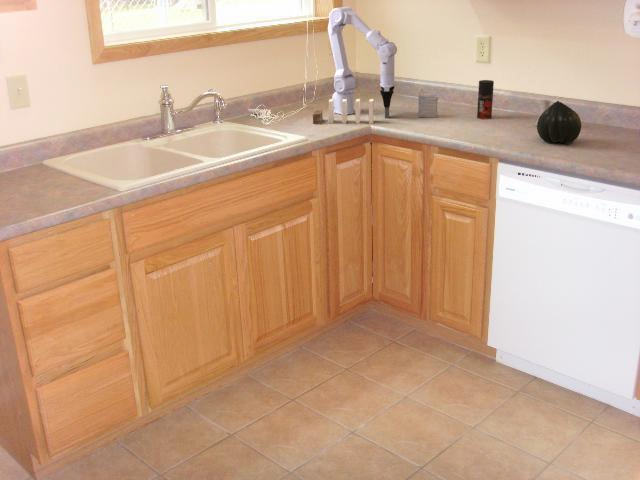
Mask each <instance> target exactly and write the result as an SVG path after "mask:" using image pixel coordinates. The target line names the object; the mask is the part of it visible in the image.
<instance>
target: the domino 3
mask: <svg viewBox="0 0 640 480" xmlns="http://www.w3.org/2000/svg"><path fill="white" fill-rule="evenodd" d="M354 102H355V103H354V104H355V105H354V106H355V107H354V108H355V111H356V113H355V124H360V123H361V98H355V100H354Z"/></svg>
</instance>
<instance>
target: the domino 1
mask: <svg viewBox="0 0 640 480" xmlns="http://www.w3.org/2000/svg"><path fill="white" fill-rule="evenodd" d="M334 121H335V113H334V99H332V98H329V100H328V124H334Z"/></svg>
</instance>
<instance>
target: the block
mask: <svg viewBox="0 0 640 480" xmlns="http://www.w3.org/2000/svg"><path fill="white" fill-rule="evenodd" d="M323 119H324V118H323V110H321V109H317V110H316V109H315V110H314V111H313V113H312V124H314V125H321V123H322V122H323Z"/></svg>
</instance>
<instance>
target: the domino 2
mask: <svg viewBox="0 0 640 480" xmlns="http://www.w3.org/2000/svg"><path fill="white" fill-rule="evenodd" d="M341 118H342V119H341V120H342V121H341V122H342V124H347V122H348V114H347V99H343V100H342V114H341Z"/></svg>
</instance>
